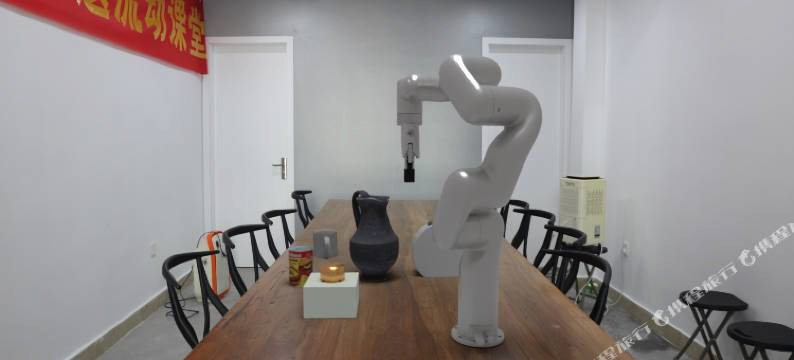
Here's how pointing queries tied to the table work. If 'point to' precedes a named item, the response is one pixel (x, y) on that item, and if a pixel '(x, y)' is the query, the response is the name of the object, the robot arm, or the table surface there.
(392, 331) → the table surface
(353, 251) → the pitcher
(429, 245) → the alarm clock
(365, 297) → the table surface
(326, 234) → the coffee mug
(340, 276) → the pin
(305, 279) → the canned food
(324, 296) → the hole block
